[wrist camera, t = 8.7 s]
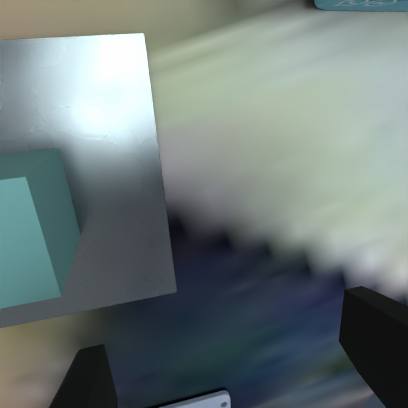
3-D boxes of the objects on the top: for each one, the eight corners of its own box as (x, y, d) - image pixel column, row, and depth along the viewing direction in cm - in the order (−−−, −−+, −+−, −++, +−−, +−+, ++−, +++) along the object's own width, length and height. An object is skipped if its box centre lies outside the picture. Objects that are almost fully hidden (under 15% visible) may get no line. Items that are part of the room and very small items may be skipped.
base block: (170, 266, 19) (177, 292, 16) (-56, 309, 16) (-86, 345, 14) (141, 41, 14) (143, 33, 12) (-173, 58, 12) (-244, 52, 10)
